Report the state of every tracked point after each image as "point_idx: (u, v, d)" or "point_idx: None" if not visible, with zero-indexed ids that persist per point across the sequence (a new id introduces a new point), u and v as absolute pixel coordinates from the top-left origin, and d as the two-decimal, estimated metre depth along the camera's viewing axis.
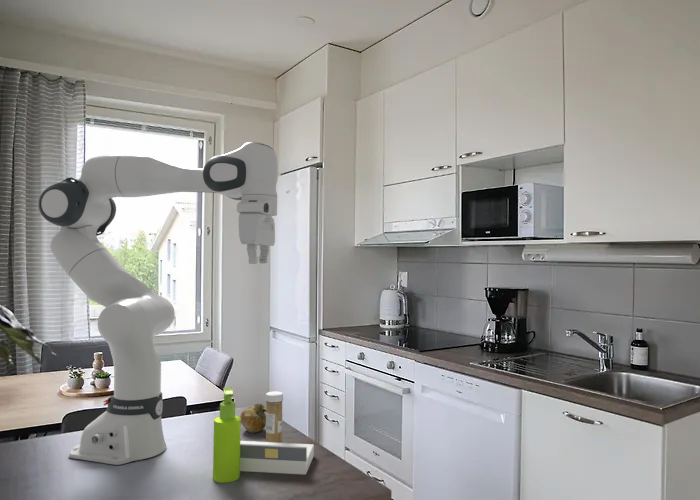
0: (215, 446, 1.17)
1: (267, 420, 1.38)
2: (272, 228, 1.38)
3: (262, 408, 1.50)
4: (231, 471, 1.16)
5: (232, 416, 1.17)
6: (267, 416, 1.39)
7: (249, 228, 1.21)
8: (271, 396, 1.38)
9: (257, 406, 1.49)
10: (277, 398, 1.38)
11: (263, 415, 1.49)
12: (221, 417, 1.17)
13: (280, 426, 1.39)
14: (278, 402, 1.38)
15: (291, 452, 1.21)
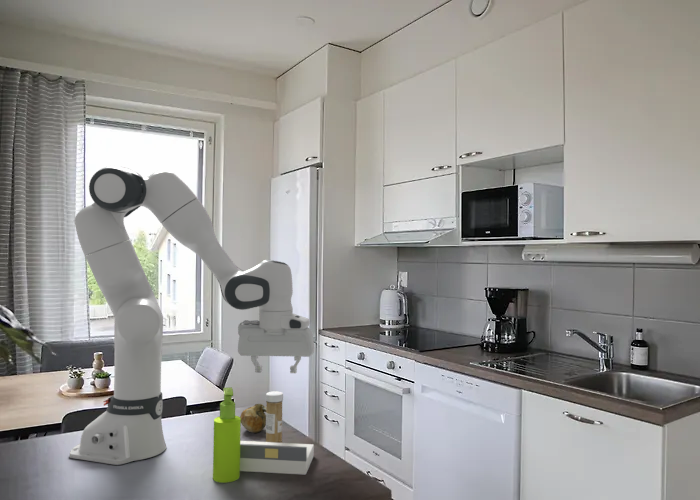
0: (215, 446, 1.17)
1: (267, 420, 1.38)
2: None
3: (262, 408, 1.50)
4: (231, 471, 1.16)
5: (232, 416, 1.17)
6: (267, 416, 1.39)
7: (312, 341, 1.40)
8: (271, 396, 1.38)
9: (257, 406, 1.49)
10: (277, 398, 1.38)
11: (263, 415, 1.49)
12: (221, 417, 1.17)
13: (280, 426, 1.39)
14: (278, 402, 1.38)
15: (291, 452, 1.21)
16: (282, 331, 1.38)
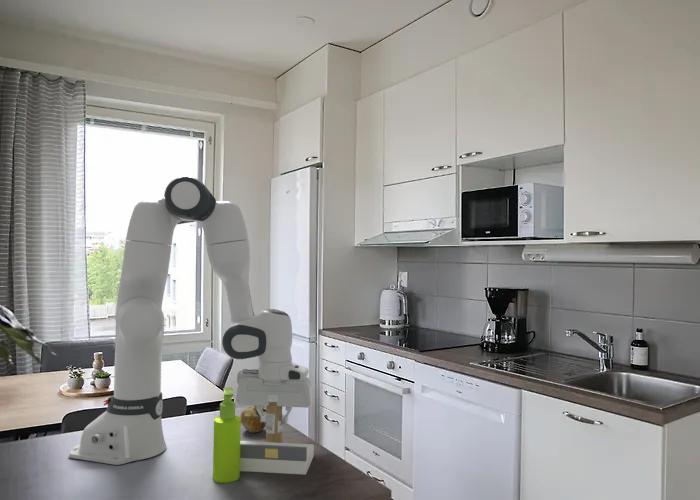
0: (215, 446, 1.17)
1: (267, 420, 1.38)
2: None
3: (262, 408, 1.50)
4: (231, 471, 1.16)
5: (232, 416, 1.17)
6: (267, 416, 1.39)
7: (311, 391, 1.40)
8: (271, 396, 1.38)
9: None
10: (277, 398, 1.38)
11: None
12: (221, 417, 1.17)
13: (280, 426, 1.39)
14: None
15: (291, 452, 1.21)
16: (281, 381, 1.38)
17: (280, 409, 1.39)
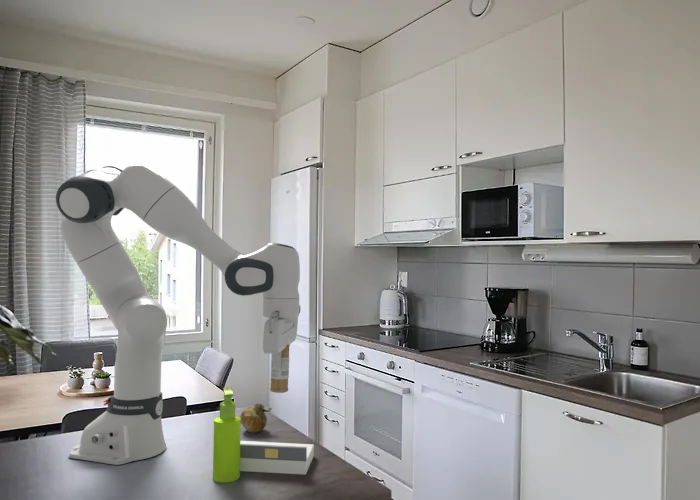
0: (215, 446, 1.17)
1: (285, 365, 1.27)
2: None
3: (262, 408, 1.50)
4: (231, 471, 1.16)
5: (232, 416, 1.17)
6: (284, 361, 1.27)
7: None
8: (289, 338, 1.28)
9: (257, 406, 1.49)
10: None
11: (263, 415, 1.49)
12: (221, 417, 1.17)
13: None
14: None
15: (291, 452, 1.21)
16: None
17: None
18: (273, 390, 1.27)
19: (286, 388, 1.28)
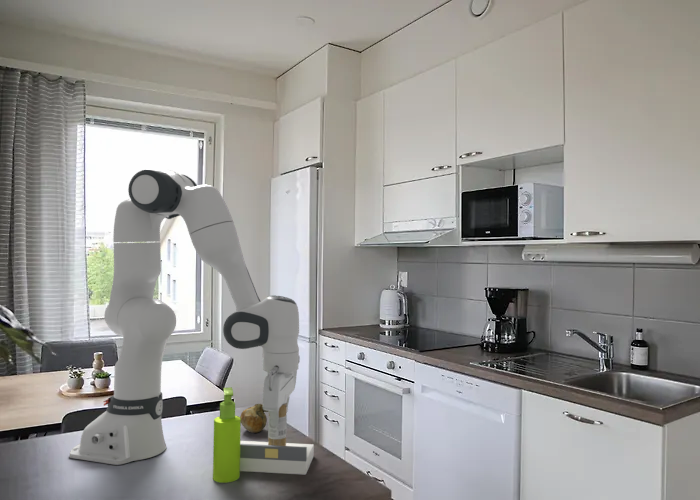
0: (215, 446, 1.17)
1: (283, 425, 1.26)
2: None
3: (262, 408, 1.50)
4: (231, 471, 1.16)
5: (232, 416, 1.17)
6: (282, 420, 1.26)
7: None
8: (286, 396, 1.27)
9: (257, 406, 1.49)
10: None
11: (263, 415, 1.49)
12: (221, 417, 1.17)
13: None
14: None
15: (291, 452, 1.21)
16: None
17: None
18: None
19: None
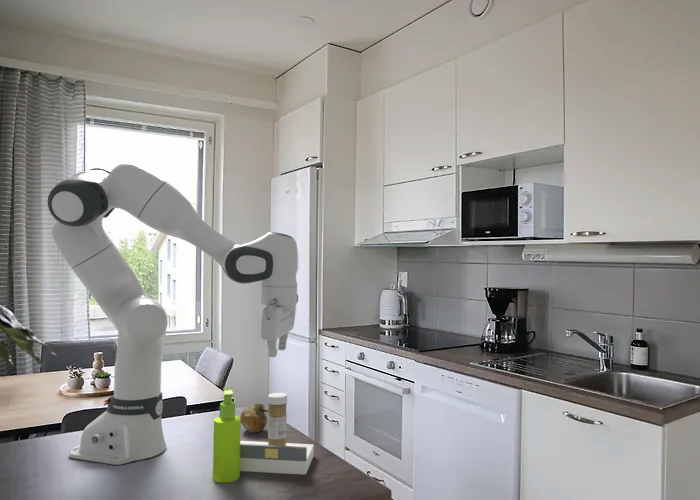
0: (215, 446, 1.17)
1: (282, 425, 1.26)
2: None
3: (262, 408, 1.50)
4: (231, 471, 1.16)
5: (232, 416, 1.17)
6: (281, 420, 1.26)
7: None
8: (286, 396, 1.27)
9: (257, 406, 1.49)
10: None
11: (263, 415, 1.49)
12: (221, 417, 1.17)
13: None
14: None
15: (291, 452, 1.21)
16: None
17: None
18: None
19: None
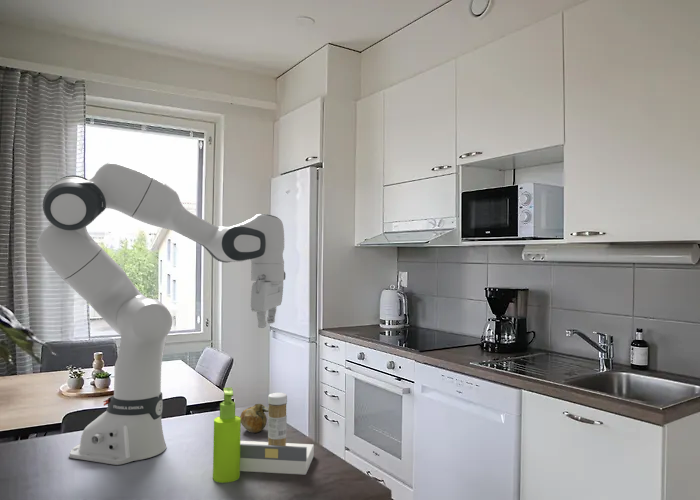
0: (215, 446, 1.17)
1: (282, 425, 1.26)
2: None
3: (262, 408, 1.50)
4: (231, 471, 1.16)
5: (232, 416, 1.17)
6: (281, 420, 1.26)
7: None
8: (286, 396, 1.27)
9: (257, 406, 1.49)
10: None
11: (263, 415, 1.49)
12: (221, 417, 1.17)
13: None
14: None
15: (291, 452, 1.21)
16: None
17: None
18: None
19: None
